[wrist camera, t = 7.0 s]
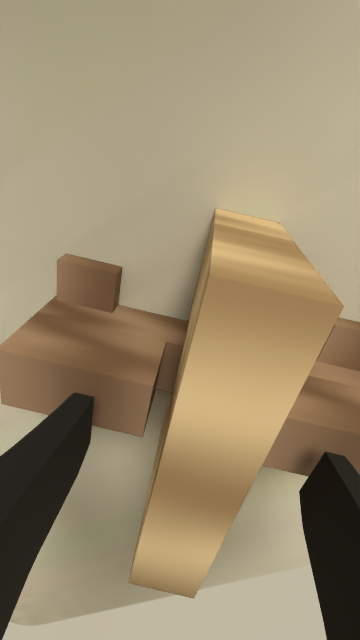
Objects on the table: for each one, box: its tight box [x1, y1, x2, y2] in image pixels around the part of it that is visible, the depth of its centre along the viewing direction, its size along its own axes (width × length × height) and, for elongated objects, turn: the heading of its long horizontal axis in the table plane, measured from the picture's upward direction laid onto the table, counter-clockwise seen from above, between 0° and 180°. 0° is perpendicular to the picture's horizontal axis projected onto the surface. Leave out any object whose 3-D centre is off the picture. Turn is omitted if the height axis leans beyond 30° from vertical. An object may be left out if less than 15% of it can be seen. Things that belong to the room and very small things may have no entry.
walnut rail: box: [0, 254, 360, 476], centre depth 13 cm, size 14×6×5 cm, turn 79°
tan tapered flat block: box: [129, 209, 344, 598], centre depth 12 cm, size 12×2×7 cm, turn 169°
